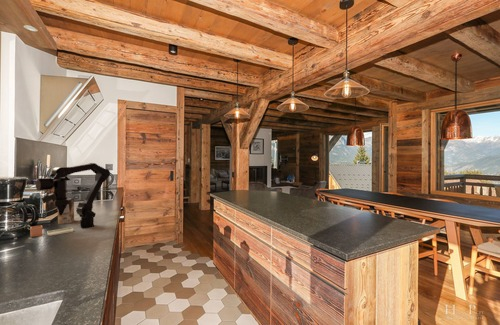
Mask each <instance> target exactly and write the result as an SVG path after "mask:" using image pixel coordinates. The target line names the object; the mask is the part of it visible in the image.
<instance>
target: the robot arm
mask: <svg viewBox="0 0 500 325" xmlns="http://www.w3.org/2000/svg"><path fill="white" fill-rule="evenodd" d="M85 171H92V172H93V173H94V182H93V183H92V184H91V187H90V189H89V191H88V193H87V194H86V197H85V198H84V200H83V201H82V202H81V201H80V202H78V205H77V206H76V212H75V213H76V214H77V215H78V216H79V217H80V219H79V227H80V228H81V229H86V228H93V227H95V225H94V220H95V218H96V213H95V212H94V211H93V207H94V205H93V204H94V201H95V199H96V198H97V195H98V193H99V192H100V189H101V187H102V185H103V183H104V182H106V181H107V180H108V178H109V177H110V176H111V172H110V170H109V169H108V168H104V167H102V166H100V165H99V164H97V163H93V162H89V163H87V164H85V163H84V164H78V165H74V166H63V167H61V166H59V167H58V166H57V167H54V168H52V170H51V173H50V174H49V175H48V177H45V178H37V180H36V184H35V188H36V189H35V190H37V191H38V192H40V191H49V190H52V189H53V191H52V193H49V194H45V195H43V196H41V197H40V199H41V201H42V203H43V204H46V203H48V202H50V201H51V203H52V204H53V205H54V206H56V209H57V212H58V211H59V215H60V216H61V215H62V214H63V212H64V210H65V208H66V206H67V204H69V200H67V198H68V197H67V192H68V191H67V181H71V178H69V177H68V176H70V175H72V174H75V173H81V172H85Z"/></svg>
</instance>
